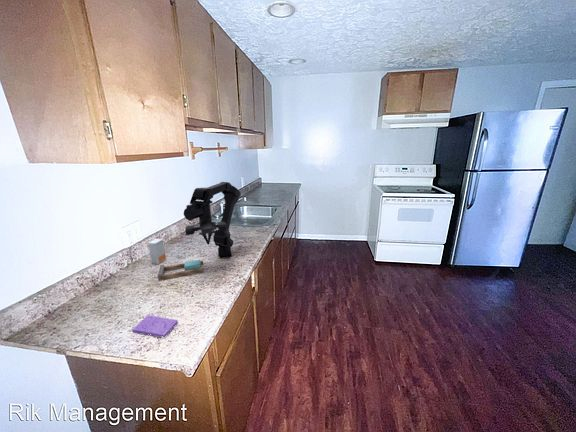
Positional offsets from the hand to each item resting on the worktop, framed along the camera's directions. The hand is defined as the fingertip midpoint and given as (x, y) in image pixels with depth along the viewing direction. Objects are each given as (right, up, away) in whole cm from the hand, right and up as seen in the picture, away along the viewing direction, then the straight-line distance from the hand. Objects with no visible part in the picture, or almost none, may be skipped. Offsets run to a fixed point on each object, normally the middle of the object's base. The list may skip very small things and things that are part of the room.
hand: (208, 244), depth 116 cm
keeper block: (-8, -13, +1) cm, 15 cm away
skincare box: (-30, -11, +9) cm, 33 cm away
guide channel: (-13, -13, -1) cm, 18 cm away
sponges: (-6, -25, -36) cm, 44 cm away
